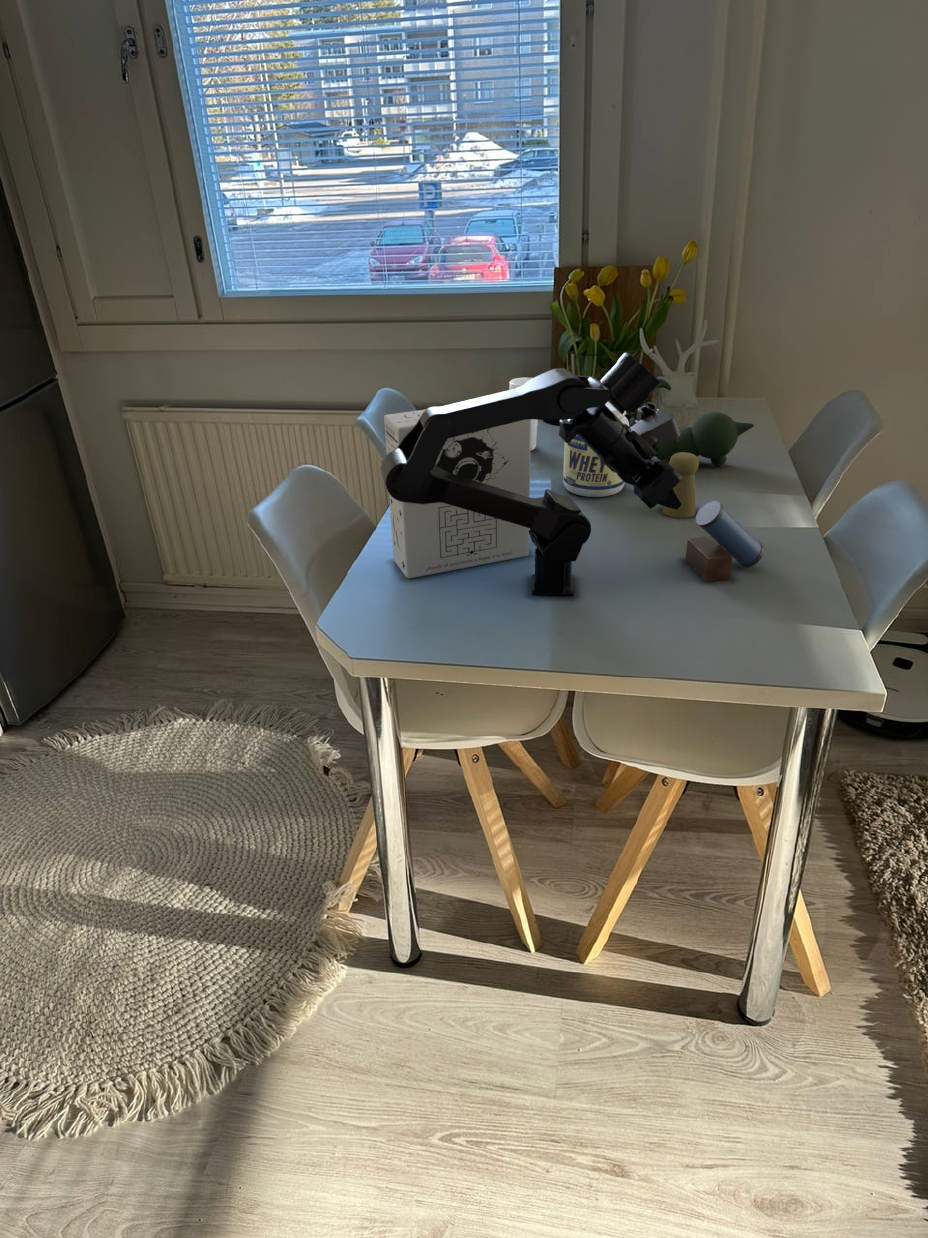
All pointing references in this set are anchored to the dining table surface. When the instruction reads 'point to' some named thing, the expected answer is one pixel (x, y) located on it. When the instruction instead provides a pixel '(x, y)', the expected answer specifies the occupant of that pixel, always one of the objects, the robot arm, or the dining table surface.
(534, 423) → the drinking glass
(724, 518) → the tube
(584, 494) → the supplement tub
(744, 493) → the dining table surface
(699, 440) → the toy figurine
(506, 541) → the cereal box
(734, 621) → the dining table surface
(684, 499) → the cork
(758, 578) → the dining table surface
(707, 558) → the walnut block
